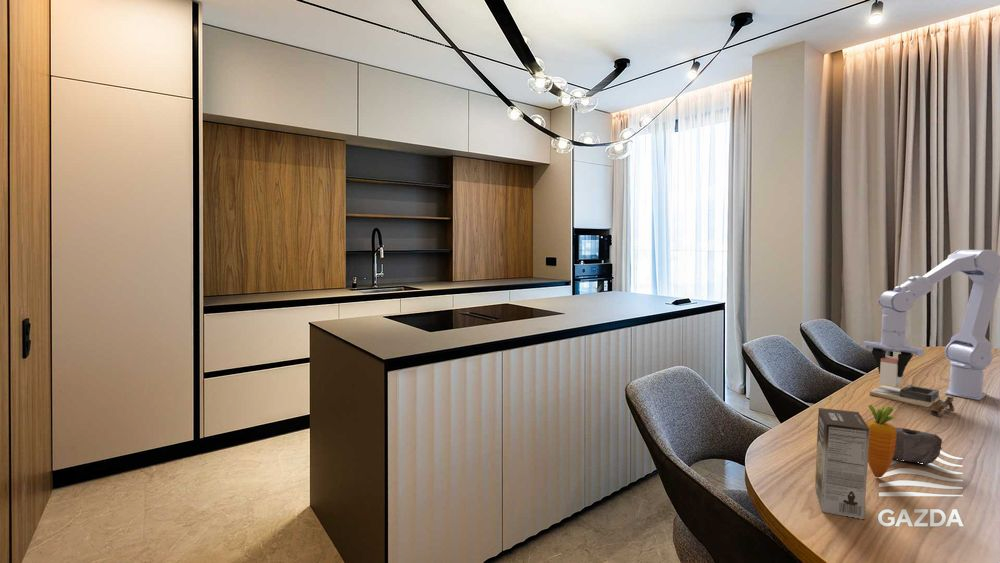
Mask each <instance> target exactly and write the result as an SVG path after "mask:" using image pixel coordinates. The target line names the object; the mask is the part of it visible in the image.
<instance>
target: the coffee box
mask: <svg viewBox="0 0 1000 563" xmlns="http://www.w3.org/2000/svg"><path fill="white" fill-rule="evenodd" d="M817 413H818V418H817V432H816V433H817V438H816V454H815V458H816V461H815V462H816V463H815V477H814V478H815V479H814V480H815V481H814V482H815V484H814V485H815V486H814V488H815V489H814V490H815V491H816V496H817V499H818V502H819V505H820V508H821V509H820V510H821V511H822V512H823V513H827V514H832V515H835V516H836V515H837V516H840V517H842V516H843V517H846V516H848V518H852V517H854V519H857V518H859V519H858V520H862V519H864V520H865V511H866V491H867V480H868V479H867V478H868V466H869V463H868V450H869V434H870V429H869V427H868V426H867V424H866V423H867V422H866V421H865V420H864V418H863V416H861V414H860V412H859V411H851V410H842V409H835V408H833V409H832V408H822V407H820V408H818V412H817Z"/></svg>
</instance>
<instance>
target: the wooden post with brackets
mask: <svg viewBox="0 0 1000 563" xmlns="http://www.w3.org/2000/svg"><path fill="white" fill-rule="evenodd" d="M954 401H955V400H954V397H953V396H948V397H946V399H945V400H944V401H942V402H941V403H940V404H939V405H938V406H936V408H931V409H929V411H930V414H931V415H933V416H937V417H940V416H941V415H940V414H941V412H942V410H943V414H945V415H948V414H950V413H952V412H955V406H954V405H953V402H954ZM948 406H949V408H947V407H948Z"/></svg>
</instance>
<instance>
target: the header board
mask: <svg viewBox="0 0 1000 563" xmlns="http://www.w3.org/2000/svg"><path fill="white" fill-rule="evenodd" d="M939 393H940V390H938V389H932V388H926V387H921V386H915V385H910V384H908V385H906V386H905V387H903V388H897V387H892V386H886V385H880V386H878V387H876V388H874V389H872V390H870V391H869V396H872V395H874V396H873V397H877V396H878V398H883V399H887V400H893V401H897V402H903V403H907V404H911V405H916V406H921V407H927V408H930V407H931V406H933V405H934V404H936V403H937V402H938V401H939V400H940V397H941V396H940V395H939Z"/></svg>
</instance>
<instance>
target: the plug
mask: <svg viewBox="0 0 1000 563" xmlns="http://www.w3.org/2000/svg"><path fill="white" fill-rule="evenodd" d="M898 366H899V363H898V357H895V356H888V355H885V357H883V358H881V364H880V374H879V383H878V384H879V385H880V386H882V385H883V386H888V387H894V388H897V387H898V386H901V384H902V377H898Z"/></svg>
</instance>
